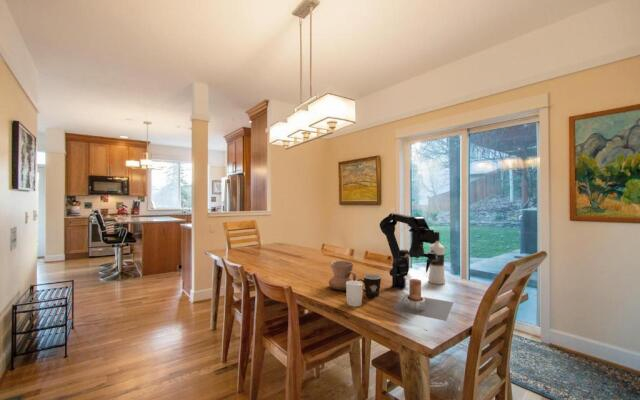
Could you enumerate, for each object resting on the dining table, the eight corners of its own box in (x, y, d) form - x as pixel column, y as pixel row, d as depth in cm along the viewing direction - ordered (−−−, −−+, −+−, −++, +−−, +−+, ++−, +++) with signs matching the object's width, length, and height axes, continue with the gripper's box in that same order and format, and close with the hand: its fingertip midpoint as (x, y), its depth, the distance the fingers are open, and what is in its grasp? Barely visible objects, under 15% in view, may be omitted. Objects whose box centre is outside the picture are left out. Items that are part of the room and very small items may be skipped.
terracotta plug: (406, 306, 132) (407, 280, 132) (413, 304, 135) (413, 278, 135) (416, 310, 128) (416, 282, 128) (423, 307, 131) (423, 280, 131)
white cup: (344, 301, 141) (344, 280, 141) (360, 300, 142) (360, 280, 142) (347, 307, 133) (347, 285, 133) (364, 306, 134) (364, 285, 134)
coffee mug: (382, 295, 150) (382, 275, 150) (378, 300, 142) (378, 280, 142) (360, 292, 155) (360, 273, 155) (355, 297, 147) (355, 277, 147)
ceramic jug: (321, 287, 163) (322, 262, 163) (340, 282, 173) (340, 258, 172) (345, 296, 150) (345, 268, 149) (363, 290, 159) (364, 264, 159)
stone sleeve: (402, 308, 130) (402, 299, 130) (407, 302, 137) (407, 294, 137) (422, 312, 125) (422, 303, 125) (426, 306, 133) (426, 297, 133)
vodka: (448, 283, 171) (449, 232, 171) (436, 285, 168) (436, 233, 167) (436, 279, 180) (437, 230, 179) (424, 281, 176) (425, 231, 176)
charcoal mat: (391, 311, 128) (391, 309, 128) (406, 296, 149) (406, 294, 149) (446, 323, 117) (446, 320, 117) (453, 304, 138) (453, 302, 138)
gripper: (395, 241, 150) (394, 272, 150) (433, 244, 140) (433, 277, 140) (401, 239, 159) (400, 267, 159) (437, 241, 150) (437, 272, 150)
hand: (417, 271), depth 152 cm, fingers open, 9 cm apart
